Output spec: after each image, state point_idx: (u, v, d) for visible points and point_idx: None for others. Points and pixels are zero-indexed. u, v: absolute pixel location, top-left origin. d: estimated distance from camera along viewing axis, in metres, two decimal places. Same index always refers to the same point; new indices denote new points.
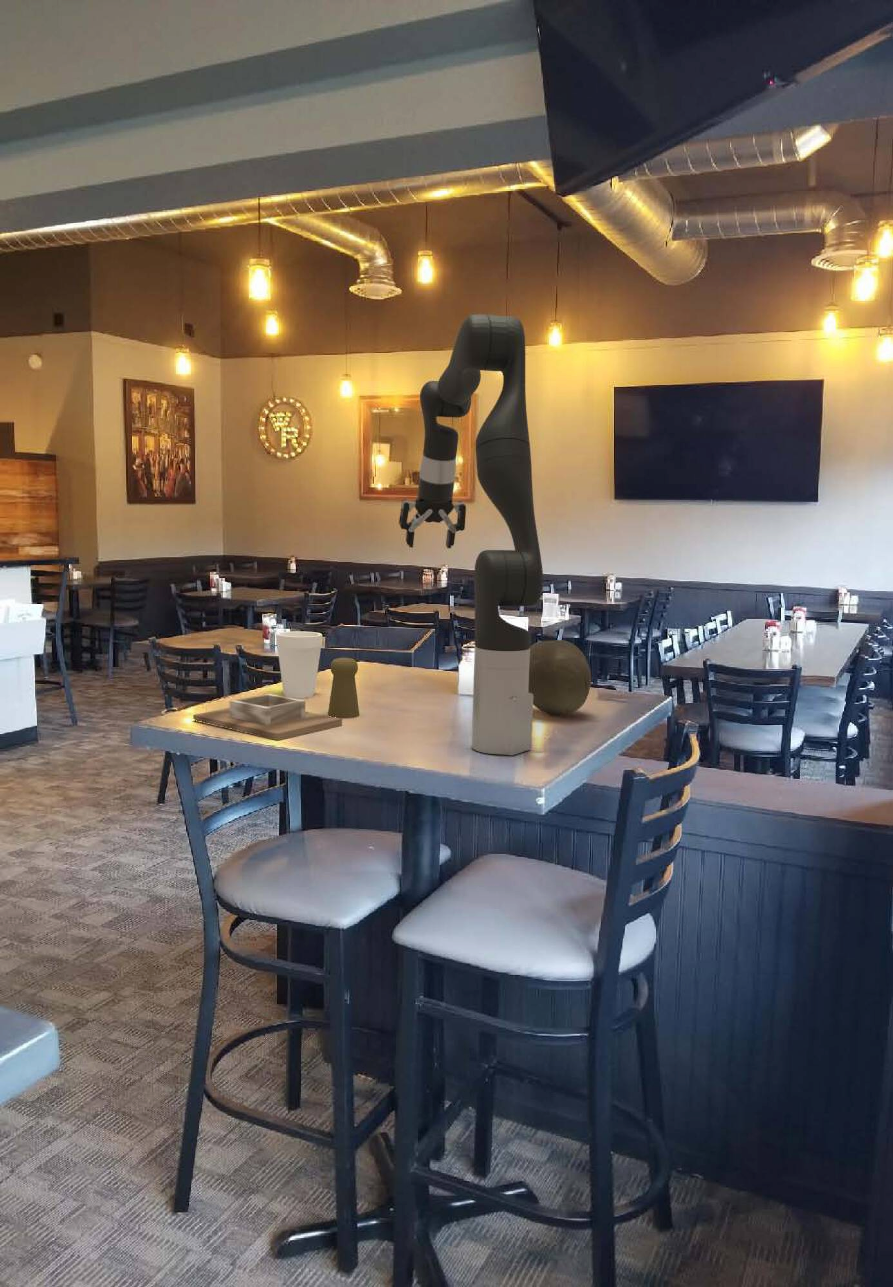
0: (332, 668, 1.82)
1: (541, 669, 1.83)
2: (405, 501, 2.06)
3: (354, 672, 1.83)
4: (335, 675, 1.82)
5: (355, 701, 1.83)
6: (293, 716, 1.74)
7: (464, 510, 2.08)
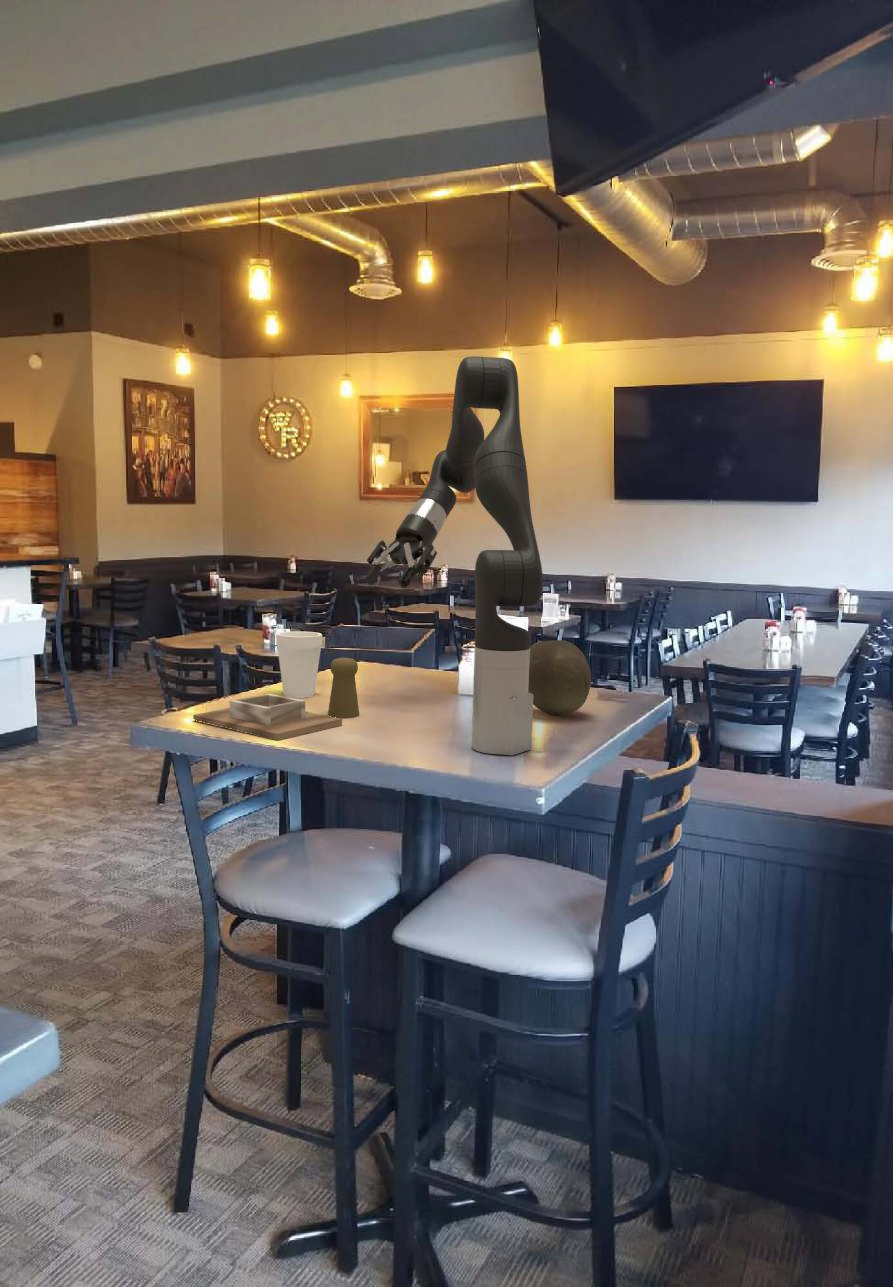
0: (332, 668, 1.82)
1: (541, 669, 1.83)
2: None
3: (354, 672, 1.83)
4: (335, 675, 1.82)
5: (355, 701, 1.83)
6: (293, 716, 1.74)
7: (429, 548, 1.91)
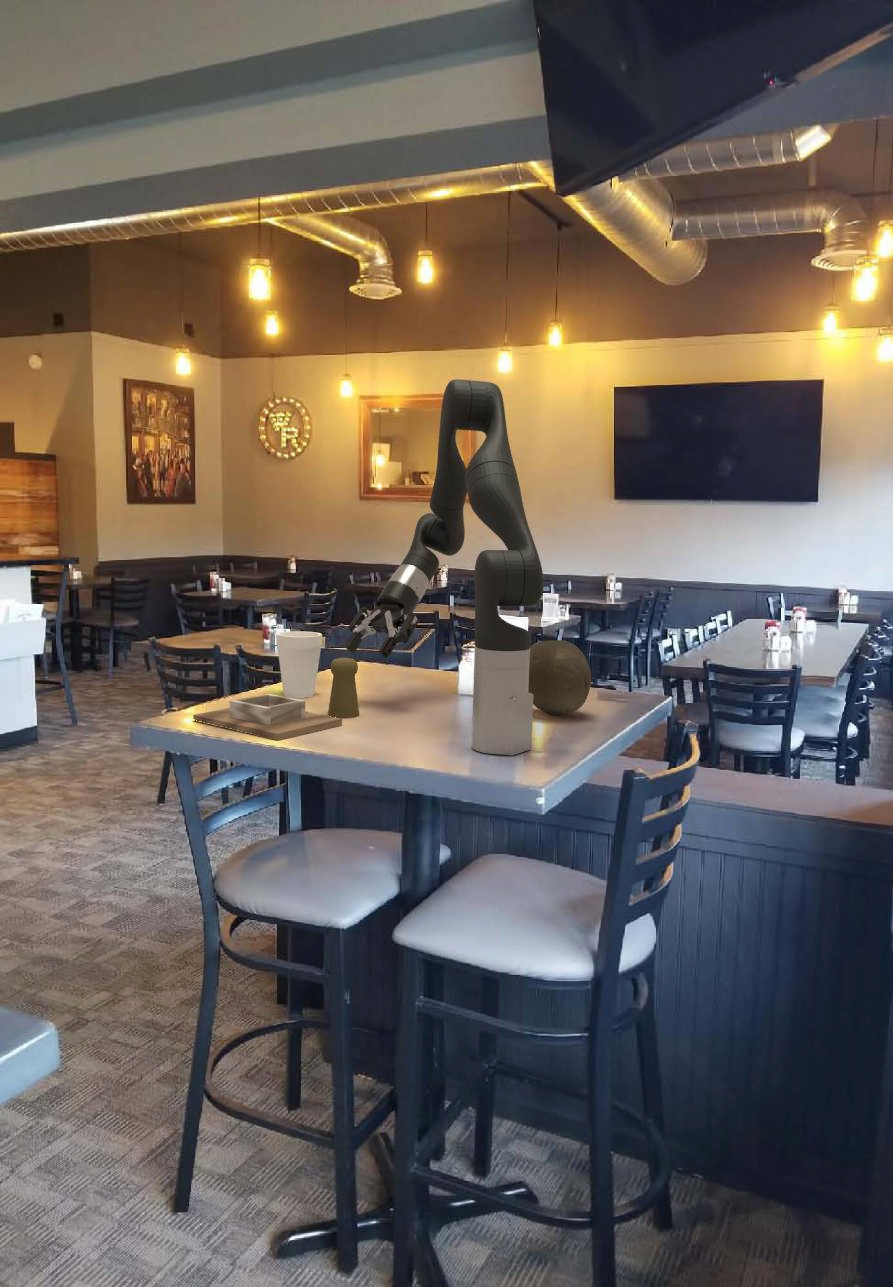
0: (332, 668, 1.82)
1: (541, 669, 1.83)
2: None
3: (354, 672, 1.83)
4: (335, 675, 1.82)
5: (355, 701, 1.83)
6: (293, 716, 1.74)
7: (410, 617, 1.88)
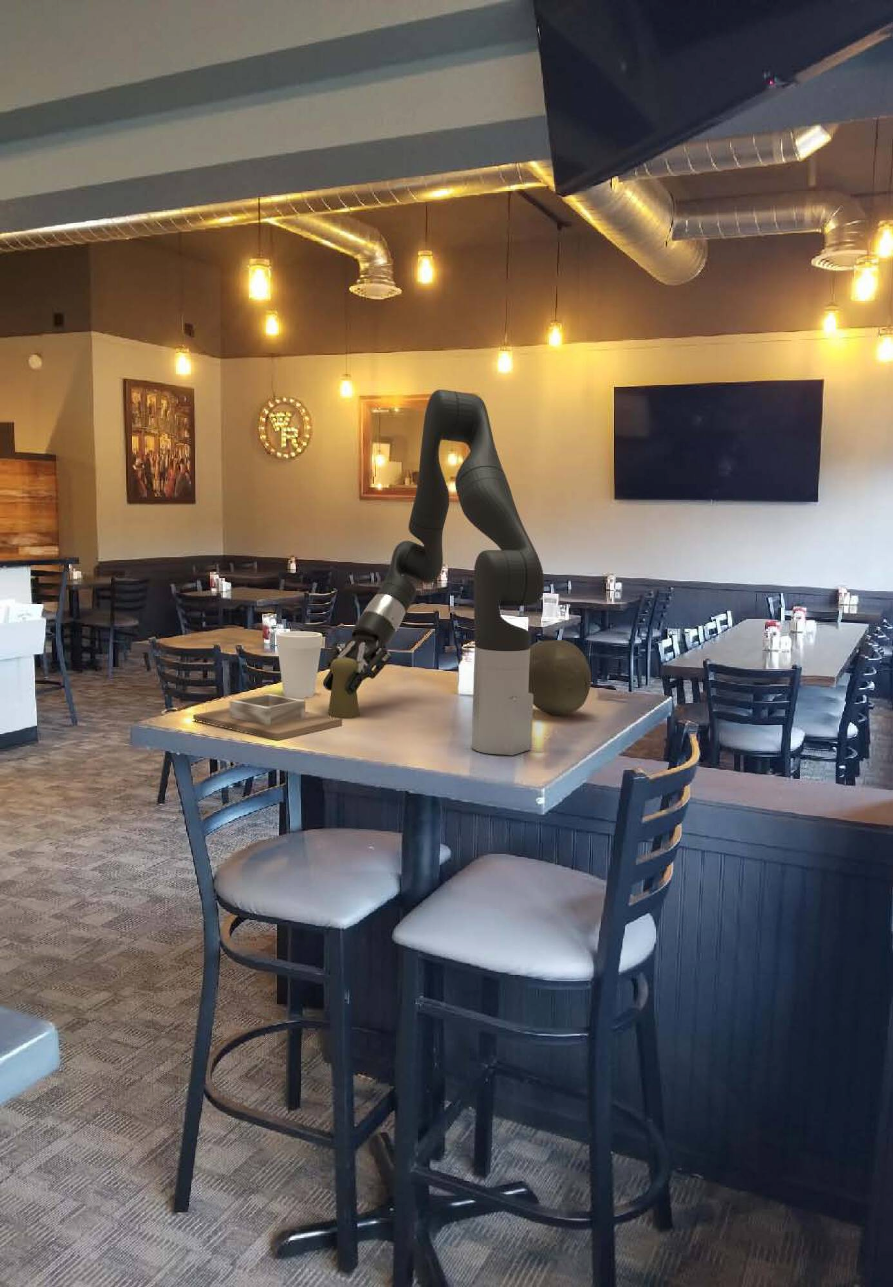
0: (332, 668, 1.82)
1: (541, 669, 1.83)
2: None
3: (354, 672, 1.83)
4: (335, 675, 1.82)
5: (355, 701, 1.83)
6: (293, 716, 1.74)
7: (381, 653, 1.83)
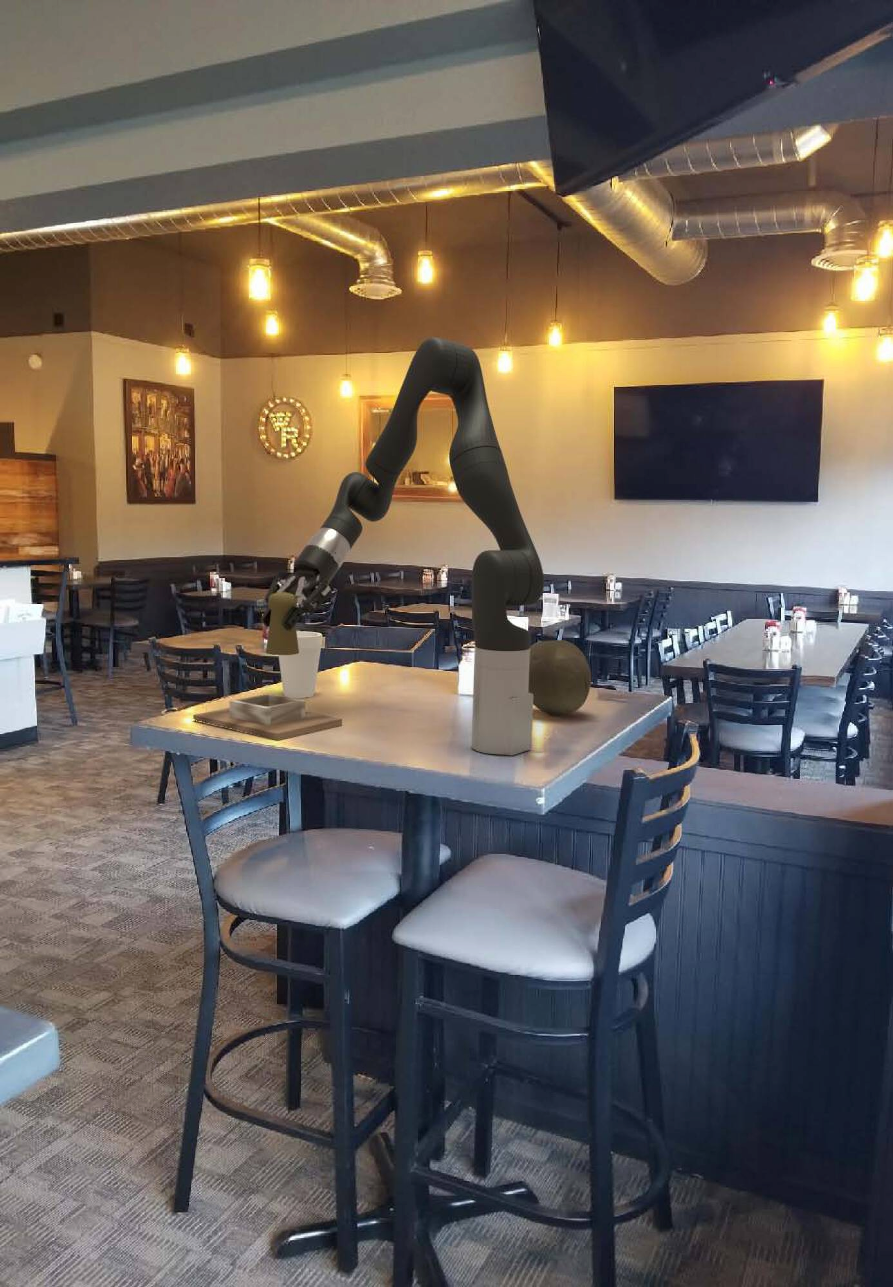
0: (269, 603, 1.74)
1: (541, 669, 1.83)
2: None
3: (292, 607, 1.74)
4: (272, 610, 1.74)
5: (294, 638, 1.75)
6: (293, 716, 1.74)
7: (321, 587, 1.74)
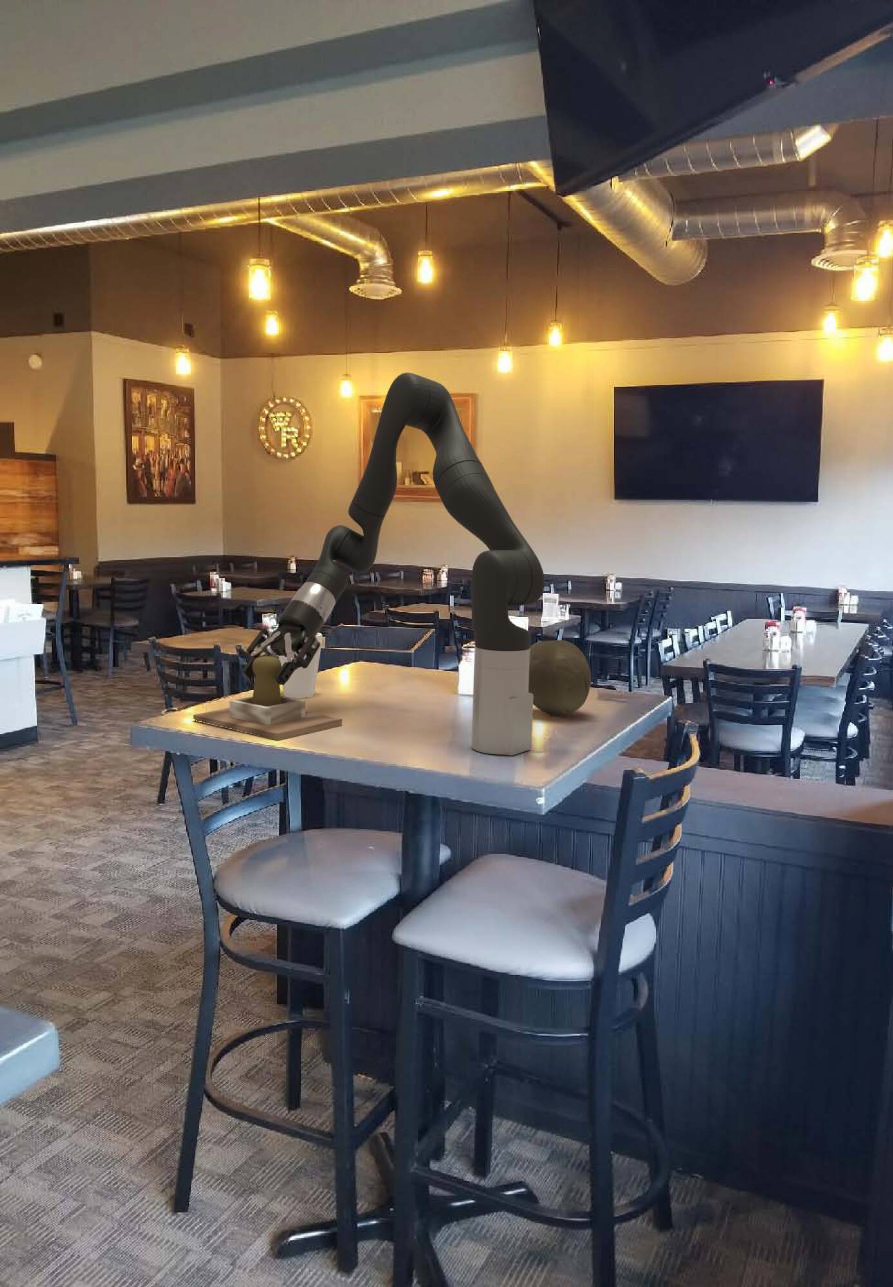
0: (254, 667, 1.73)
1: (541, 669, 1.83)
2: None
3: (277, 671, 1.74)
4: (257, 674, 1.74)
5: (278, 702, 1.75)
6: (293, 716, 1.74)
7: (310, 640, 1.73)
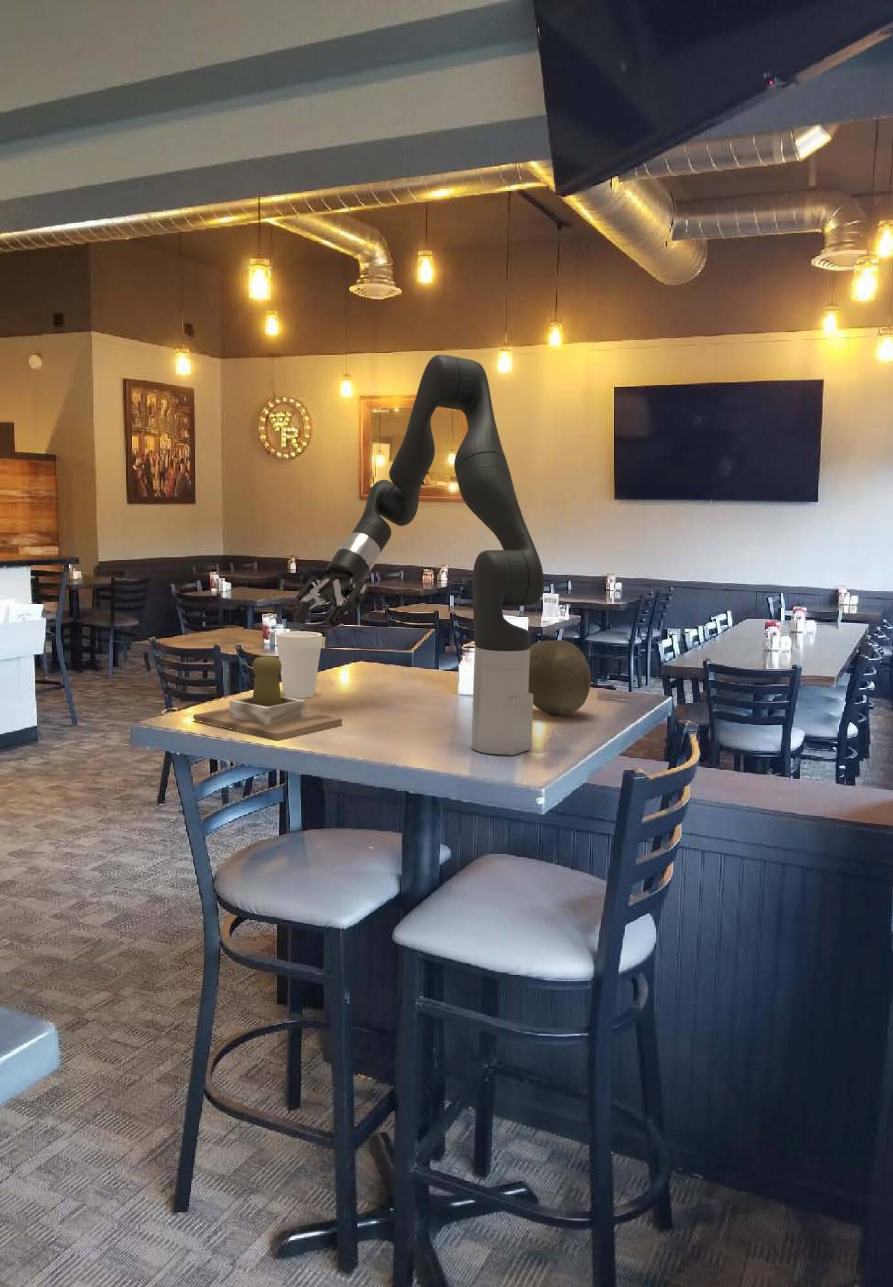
0: (254, 667, 1.73)
1: (541, 669, 1.83)
2: None
3: (277, 671, 1.74)
4: (257, 674, 1.74)
5: (278, 702, 1.75)
6: (293, 716, 1.74)
7: (358, 585, 1.82)
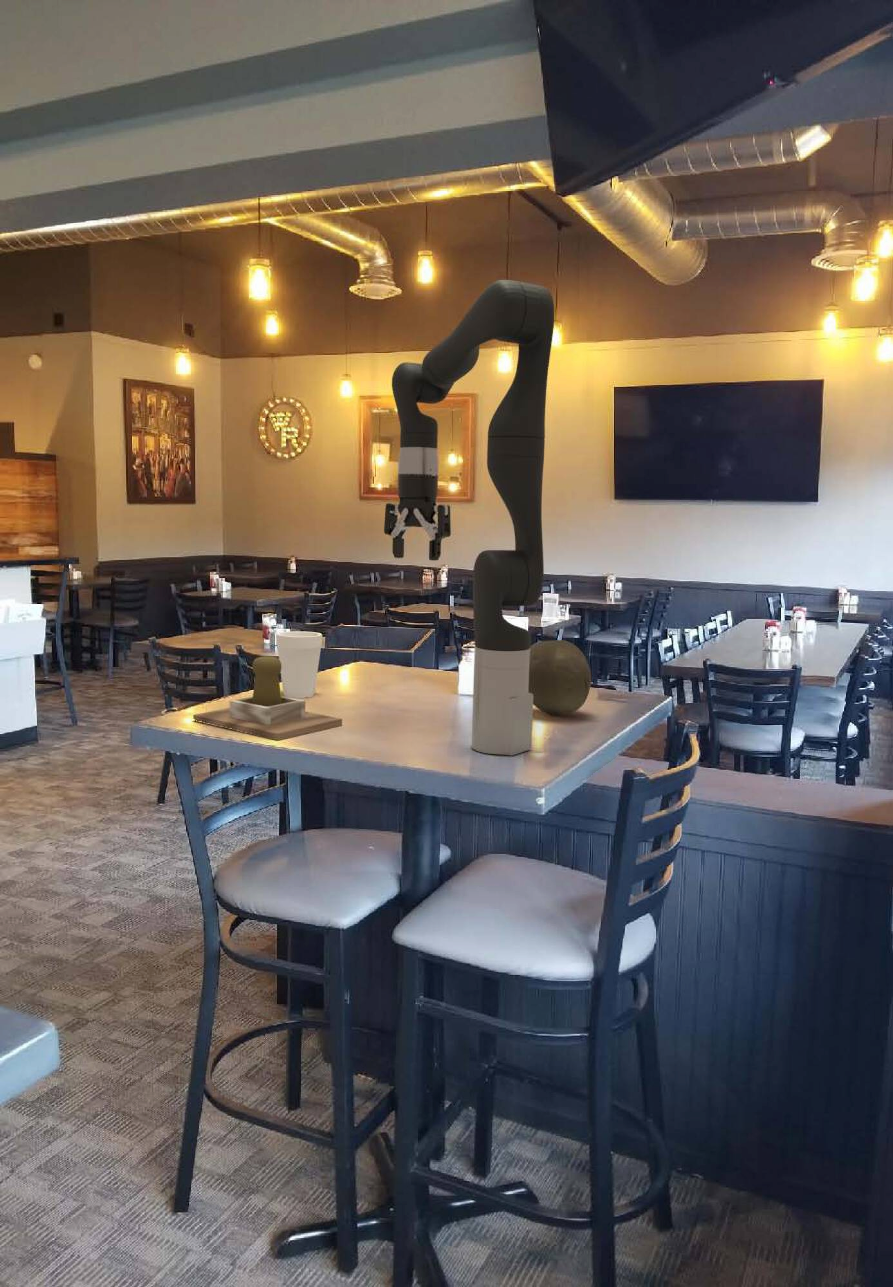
0: (254, 667, 1.73)
1: (541, 669, 1.83)
2: (391, 503, 1.86)
3: (277, 671, 1.74)
4: (257, 674, 1.74)
5: (278, 702, 1.75)
6: (293, 716, 1.74)
7: (441, 511, 1.78)
